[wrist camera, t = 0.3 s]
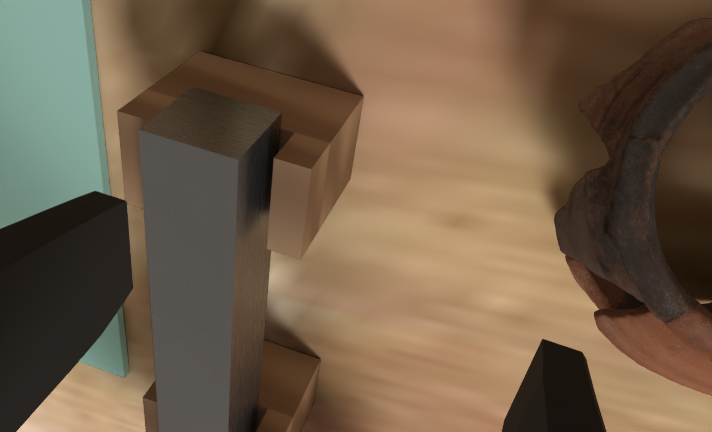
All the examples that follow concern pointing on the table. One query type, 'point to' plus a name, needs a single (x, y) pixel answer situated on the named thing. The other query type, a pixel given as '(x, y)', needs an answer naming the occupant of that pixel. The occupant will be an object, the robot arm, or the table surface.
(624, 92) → the brown piece
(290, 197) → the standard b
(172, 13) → the table surface
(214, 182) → the rail
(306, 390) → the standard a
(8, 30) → the mat
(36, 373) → the robot arm
